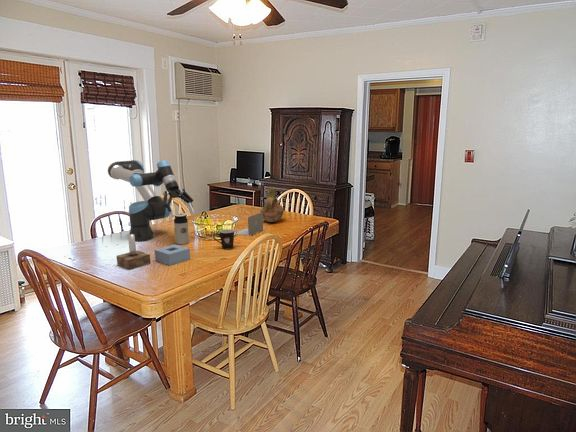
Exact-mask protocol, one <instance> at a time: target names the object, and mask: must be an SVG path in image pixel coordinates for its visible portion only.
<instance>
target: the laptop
mask: <svg viewBox="0 0 576 432" xmlns="http://www.w3.org/2000/svg"><path fill="white" fill-rule="evenodd" d="M260 212H261V211H260ZM260 212H259V213H255V214H253V215H250V216H248V217H247V227H246V228H244V229H241V230H239V231H236V232H237V233H236V234H235V235H238V236H246V237H249V236H251V235H254V234H257V233H259V232H261V231H263V230H264V219H263V212H261V213H260Z"/></svg>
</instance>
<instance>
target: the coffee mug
mask: <svg viewBox="0 0 576 432" xmlns="http://www.w3.org/2000/svg"><path fill="white" fill-rule="evenodd" d="M234 233H235V230H234V229H230V228H228V229H220V230H219V232H218V233H214V234H213V235H212V236H213V237H212V238H213V240H215V241H216V242H218V243H219V244H221V248H222V249H223V250H230V249H234V238H235V234H234ZM216 235H217V236H219V238H220V240H218V239H216V238H215V236H216Z"/></svg>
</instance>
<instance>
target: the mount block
mask: <svg viewBox="0 0 576 432" xmlns="http://www.w3.org/2000/svg"><path fill="white" fill-rule="evenodd" d="M136 255H137V256H133V257H130V251H129V252H126V253H125V252H124V253H122V254H117V255H116V265H117V266H119V267H121V268H124V269H127V270H130V271H131V270H134V269H137V268H140V267H144V266H147V265H150V264H151V255H150V253H146V252H144V251H141V250H137V249H136Z"/></svg>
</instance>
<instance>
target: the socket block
mask: <svg viewBox="0 0 576 432" xmlns="http://www.w3.org/2000/svg"><path fill="white" fill-rule="evenodd" d="M154 256H155V257H154V259H155V261H156V262H159V263H161V264H164V265H167V266H173V265H176V264H179V263H182V262H185V261H188V260H191V251H190V248H189V247H185V246H183V245H179V244H176V243H174V244H171V245H167V246H164V247H161V248H157V249H154Z"/></svg>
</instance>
